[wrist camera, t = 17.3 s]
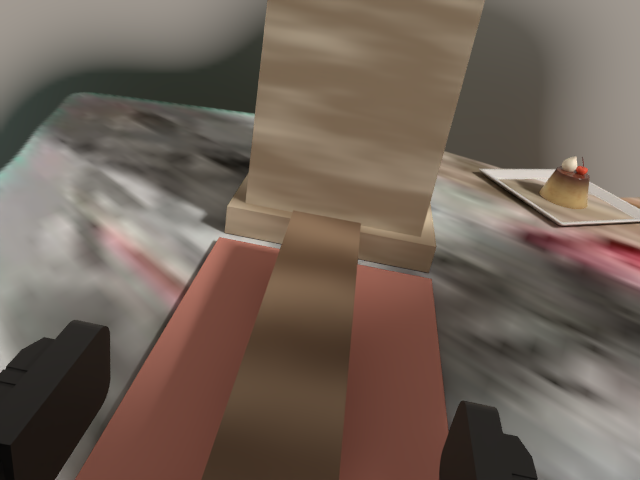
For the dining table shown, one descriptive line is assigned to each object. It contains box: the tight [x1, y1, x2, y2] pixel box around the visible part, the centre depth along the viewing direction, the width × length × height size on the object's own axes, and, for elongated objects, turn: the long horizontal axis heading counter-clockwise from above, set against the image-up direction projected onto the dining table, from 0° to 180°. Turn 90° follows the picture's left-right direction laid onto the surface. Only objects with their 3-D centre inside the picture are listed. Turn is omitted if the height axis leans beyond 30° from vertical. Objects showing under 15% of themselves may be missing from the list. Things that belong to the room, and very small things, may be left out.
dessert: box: [479, 157, 640, 226], centre depth 56 cm, size 12×12×5 cm
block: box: [201, 210, 361, 480], centre depth 24 cm, size 24×4×4 cm, turn 174°
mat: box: [75, 237, 449, 480], centre depth 25 cm, size 28×14×1 cm, turn 173°
